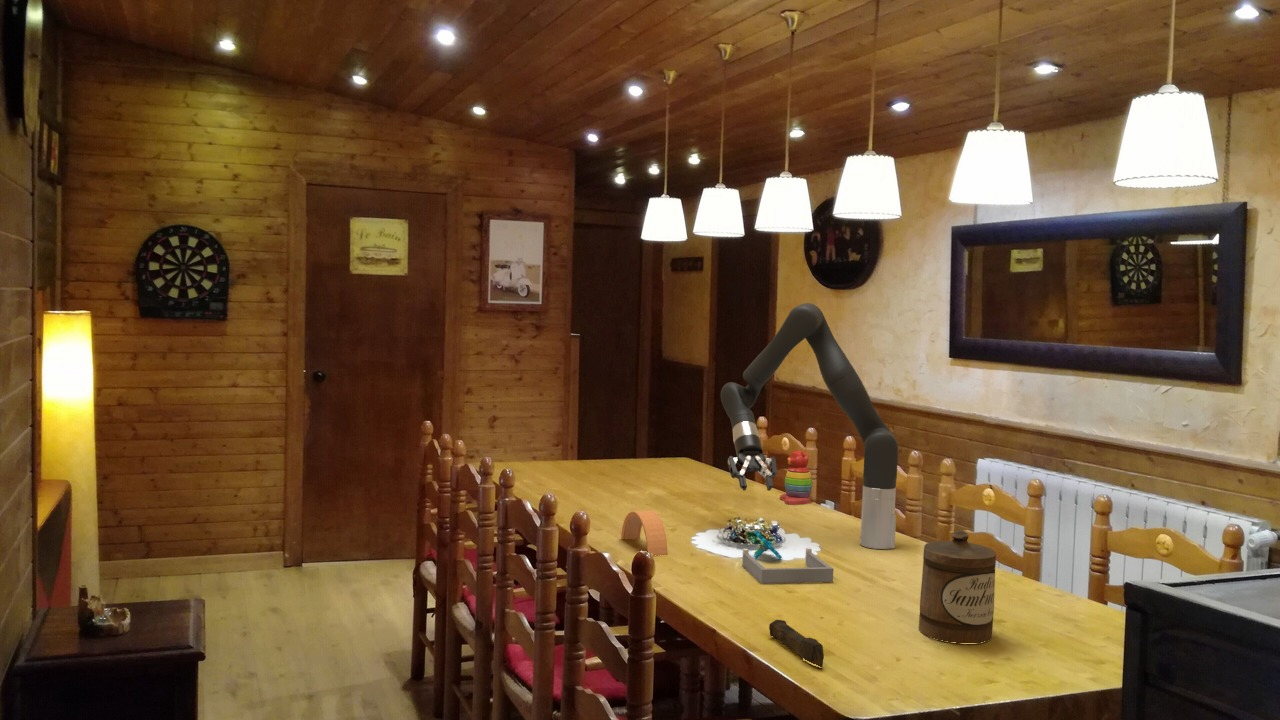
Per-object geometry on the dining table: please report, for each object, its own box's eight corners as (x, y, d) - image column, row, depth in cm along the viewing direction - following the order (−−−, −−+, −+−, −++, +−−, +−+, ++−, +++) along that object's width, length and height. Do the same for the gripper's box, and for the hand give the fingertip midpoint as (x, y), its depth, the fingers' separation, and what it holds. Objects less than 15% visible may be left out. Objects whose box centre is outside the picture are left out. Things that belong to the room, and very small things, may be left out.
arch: (647, 557, 265) (648, 520, 265) (621, 539, 284) (622, 505, 283) (667, 556, 268) (668, 519, 267) (639, 538, 286) (641, 504, 286)
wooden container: (955, 649, 201) (960, 541, 200) (904, 626, 214) (909, 525, 213) (1007, 639, 208) (1013, 535, 207) (955, 618, 221) (960, 520, 220)
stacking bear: (778, 498, 351) (780, 448, 350) (806, 498, 353) (808, 448, 351) (786, 504, 341) (788, 453, 340) (815, 505, 342) (817, 453, 341)
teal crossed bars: (786, 558, 262) (760, 530, 263) (770, 573, 262) (744, 545, 262) (780, 553, 273) (755, 526, 274) (764, 568, 273) (739, 541, 273)
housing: (742, 565, 260) (742, 548, 259) (809, 564, 263) (810, 547, 263) (761, 583, 243) (762, 566, 243) (832, 582, 247) (833, 564, 246)
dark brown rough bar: (767, 638, 205) (768, 616, 204) (785, 637, 206) (786, 615, 205) (808, 672, 186) (808, 648, 186) (827, 670, 188) (828, 646, 187)
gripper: (726, 432, 285) (735, 481, 274) (774, 433, 287) (785, 481, 277) (720, 448, 290) (729, 496, 279) (767, 448, 293) (778, 496, 282)
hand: (757, 488), depth 278 cm, fingers open, 6 cm apart
